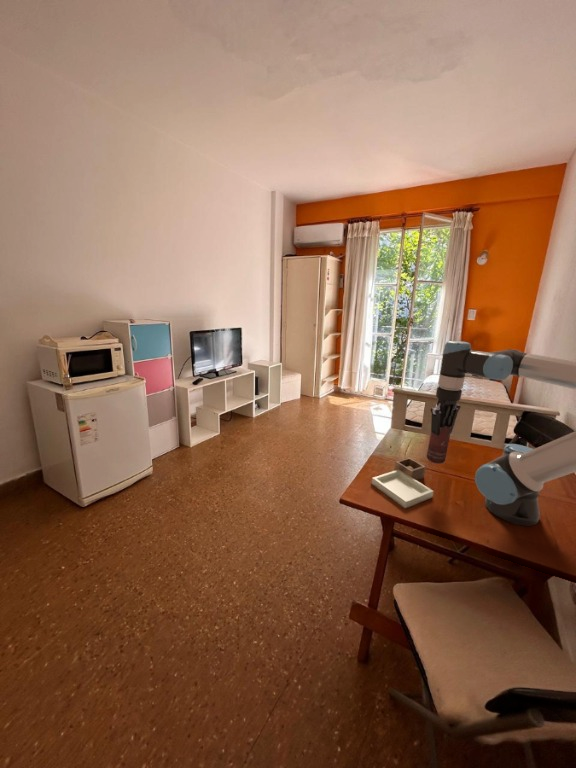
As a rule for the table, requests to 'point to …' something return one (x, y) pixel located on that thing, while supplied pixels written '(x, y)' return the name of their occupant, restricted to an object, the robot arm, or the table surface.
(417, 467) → the square wooden box
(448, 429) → the can
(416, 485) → the tray
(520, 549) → the table surface
